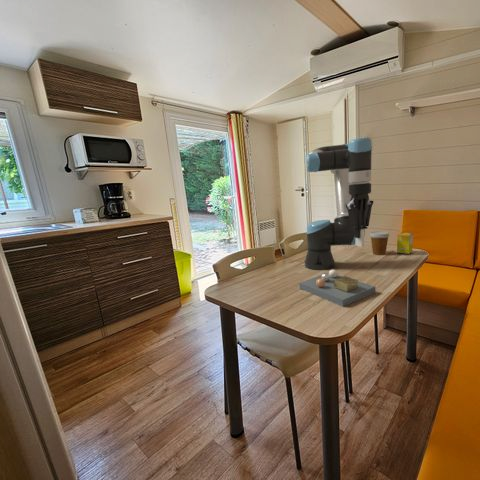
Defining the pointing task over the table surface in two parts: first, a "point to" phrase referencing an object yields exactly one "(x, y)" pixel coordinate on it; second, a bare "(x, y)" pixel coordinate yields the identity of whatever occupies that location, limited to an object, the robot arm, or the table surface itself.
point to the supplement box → (404, 243)
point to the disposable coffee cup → (379, 242)
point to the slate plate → (337, 291)
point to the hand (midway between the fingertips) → (359, 245)
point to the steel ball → (325, 277)
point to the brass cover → (346, 283)
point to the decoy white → (332, 273)
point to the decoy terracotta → (320, 282)
